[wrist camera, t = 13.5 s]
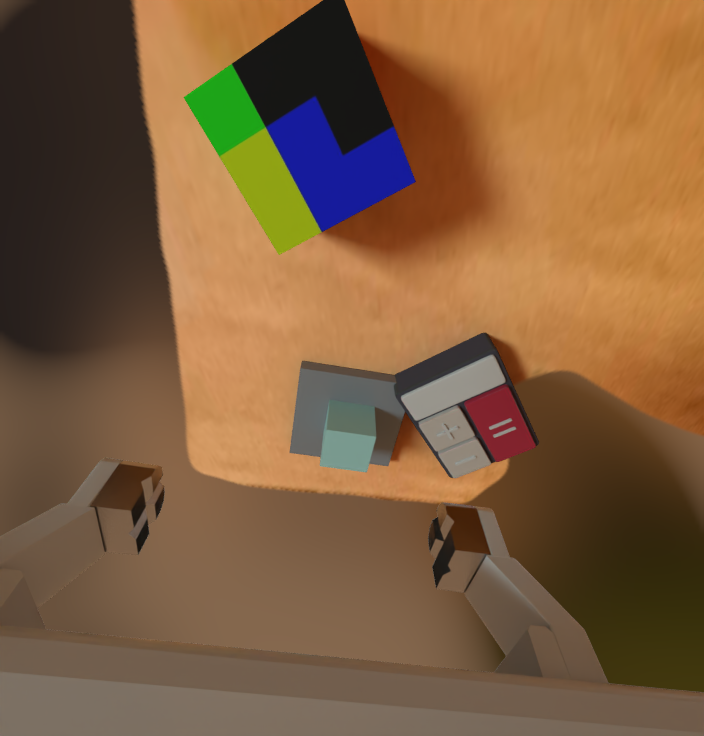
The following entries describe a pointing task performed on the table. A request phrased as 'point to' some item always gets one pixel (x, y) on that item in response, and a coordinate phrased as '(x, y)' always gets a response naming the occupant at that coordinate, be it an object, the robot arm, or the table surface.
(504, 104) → the table surface
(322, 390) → the slate coaster
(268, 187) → the puzzle toy
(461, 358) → the calculator
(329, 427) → the teal cube
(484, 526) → the robot arm
